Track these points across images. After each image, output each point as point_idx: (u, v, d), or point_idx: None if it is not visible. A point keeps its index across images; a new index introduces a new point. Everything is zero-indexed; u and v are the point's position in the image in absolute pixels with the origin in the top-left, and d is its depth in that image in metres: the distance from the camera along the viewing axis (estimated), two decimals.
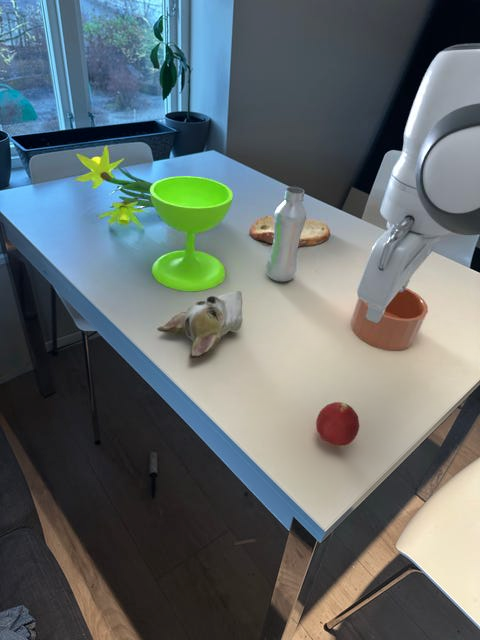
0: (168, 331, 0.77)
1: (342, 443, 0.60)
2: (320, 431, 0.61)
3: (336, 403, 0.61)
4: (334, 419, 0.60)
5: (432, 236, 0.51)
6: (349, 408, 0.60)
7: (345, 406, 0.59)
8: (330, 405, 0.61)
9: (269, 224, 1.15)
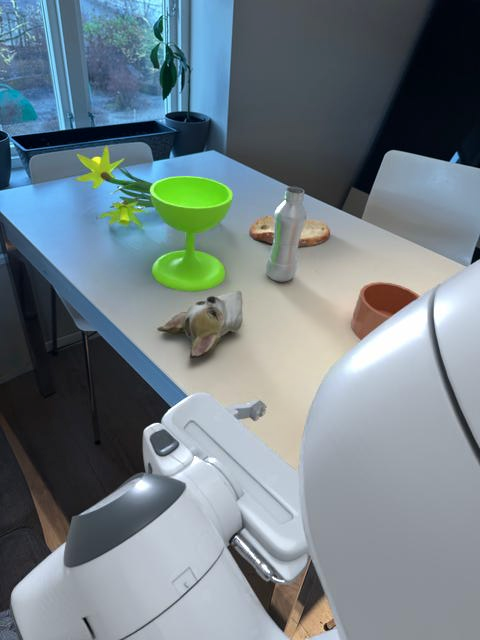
0: (168, 331, 0.77)
1: None
2: None
3: None
4: None
5: (231, 489, 0.41)
6: None
7: None
8: None
9: (269, 224, 1.15)
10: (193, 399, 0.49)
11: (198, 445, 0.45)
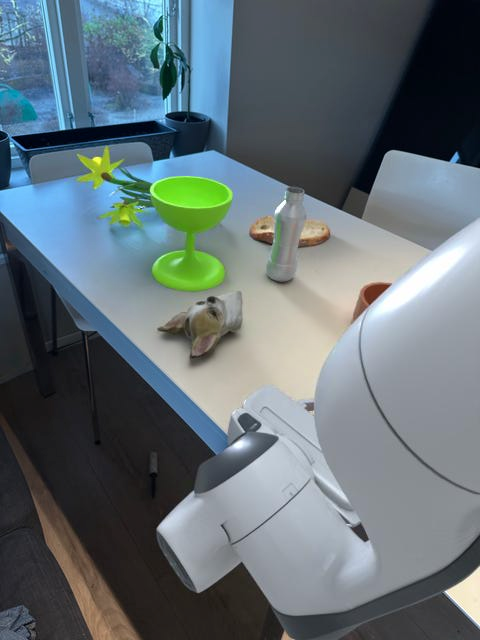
0: (168, 331, 0.77)
1: None
2: None
3: None
4: None
5: (305, 457, 0.53)
6: None
7: None
8: None
9: (269, 224, 1.15)
10: (264, 390, 0.61)
11: (273, 425, 0.57)
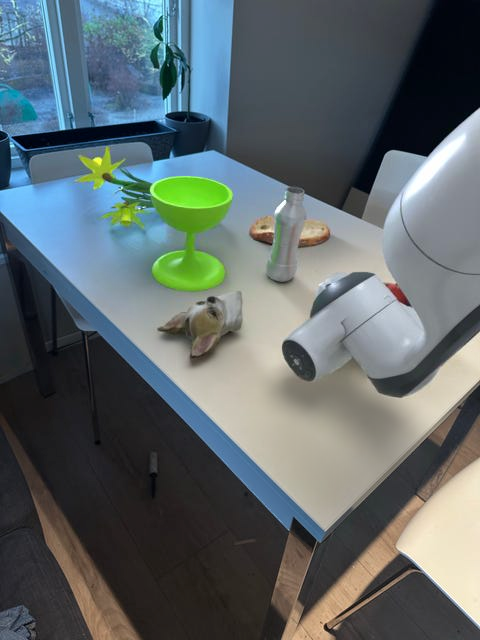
0: (168, 331, 0.77)
1: None
2: None
3: None
4: (392, 293, 0.81)
5: None
6: None
7: None
8: (388, 286, 0.82)
9: (269, 224, 1.15)
10: (338, 274, 0.82)
11: None
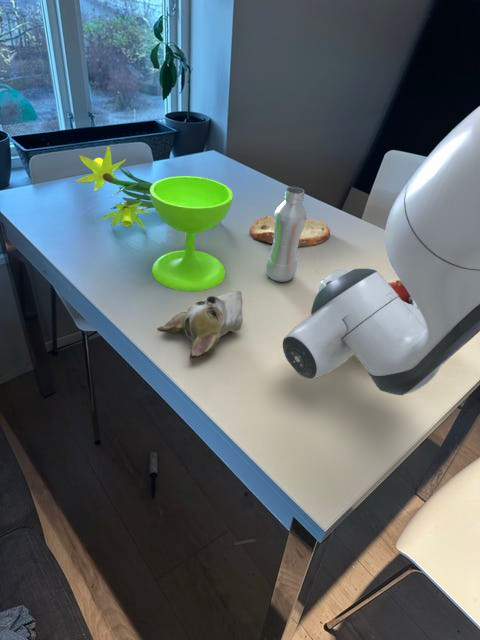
0: (168, 331, 0.77)
1: None
2: None
3: (393, 282, 0.82)
4: None
5: None
6: None
7: None
8: (389, 283, 0.82)
9: (269, 224, 1.15)
10: (339, 272, 0.82)
11: None
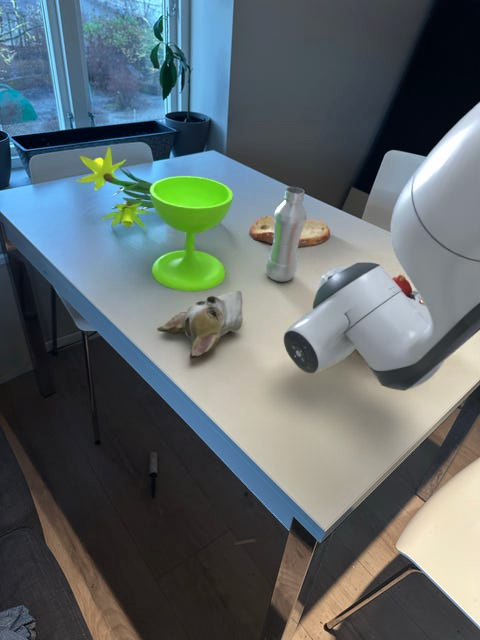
0: (168, 331, 0.77)
1: None
2: None
3: (395, 277, 0.81)
4: None
5: None
6: None
7: (403, 276, 0.79)
8: None
9: (269, 224, 1.15)
10: (340, 267, 0.81)
11: None
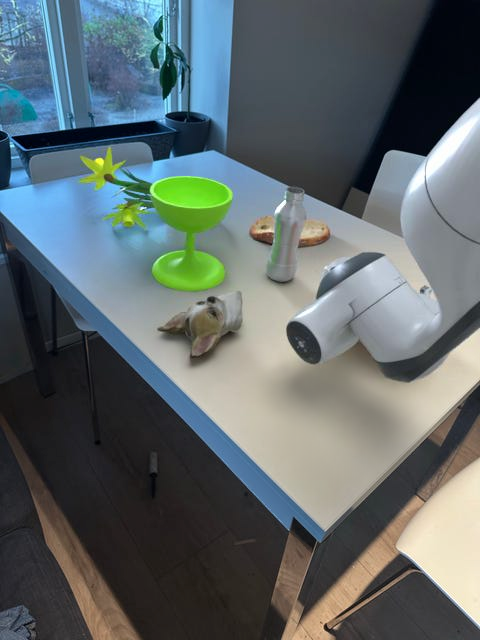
0: (168, 331, 0.77)
1: None
2: None
3: None
4: None
5: None
6: None
7: None
8: None
9: (269, 224, 1.15)
10: (343, 258, 0.80)
11: None
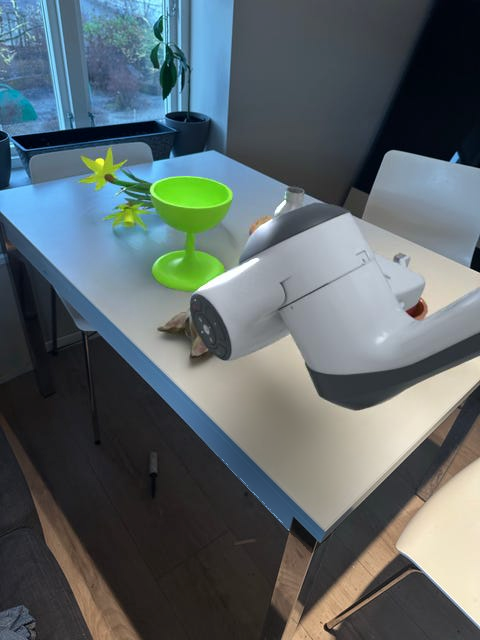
0: (168, 331, 0.77)
1: None
2: None
3: None
4: None
5: None
6: None
7: None
8: None
9: None
10: None
11: None
